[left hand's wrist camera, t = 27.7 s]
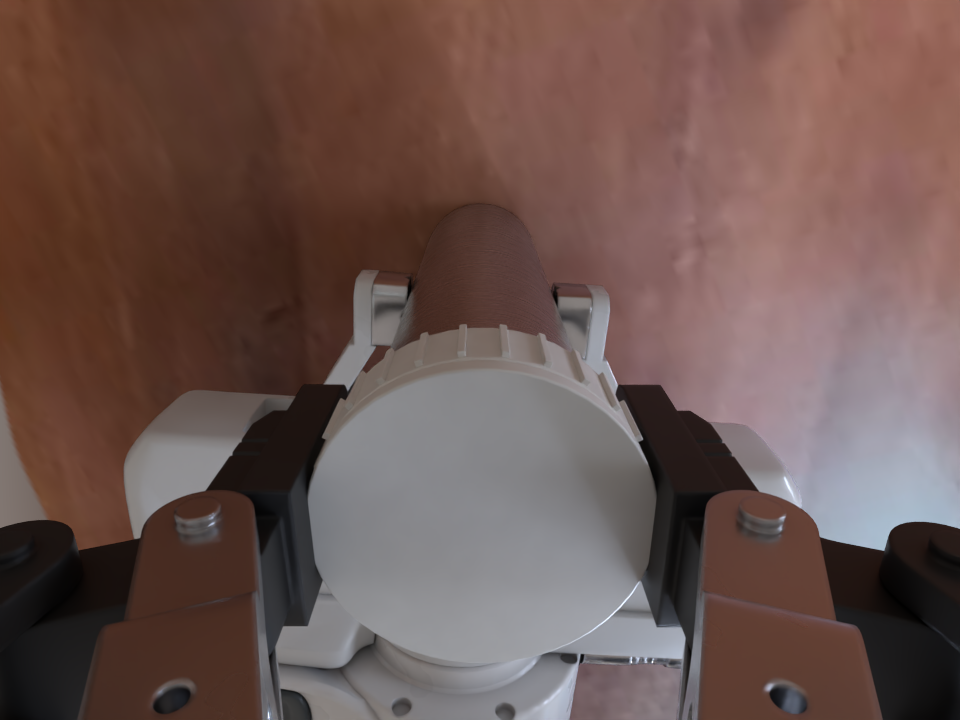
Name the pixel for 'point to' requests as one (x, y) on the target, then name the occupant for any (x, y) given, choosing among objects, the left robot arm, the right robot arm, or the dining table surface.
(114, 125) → the dining table surface
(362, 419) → the lid
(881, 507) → the dining table surface
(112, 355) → the dining table surface
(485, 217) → the jar
